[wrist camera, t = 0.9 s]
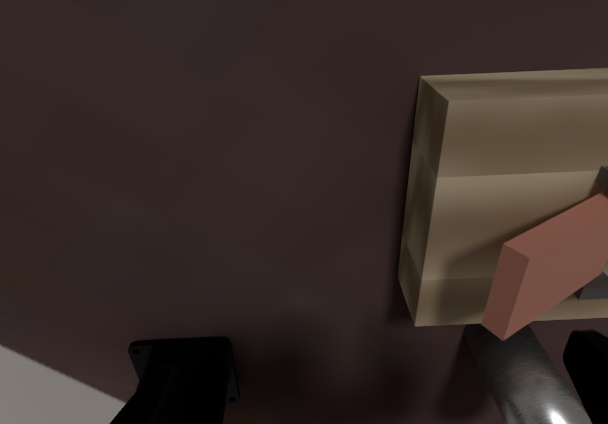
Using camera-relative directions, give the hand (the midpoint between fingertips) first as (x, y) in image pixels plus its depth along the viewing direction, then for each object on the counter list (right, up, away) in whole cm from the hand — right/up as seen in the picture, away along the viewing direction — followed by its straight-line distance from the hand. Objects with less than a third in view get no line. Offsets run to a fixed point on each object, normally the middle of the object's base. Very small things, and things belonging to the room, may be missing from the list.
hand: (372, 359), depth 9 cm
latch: (+8, +2, +7) cm, 11 cm away
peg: (+11, -5, +18) cm, 22 cm away
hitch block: (+12, +5, +12) cm, 18 cm away
